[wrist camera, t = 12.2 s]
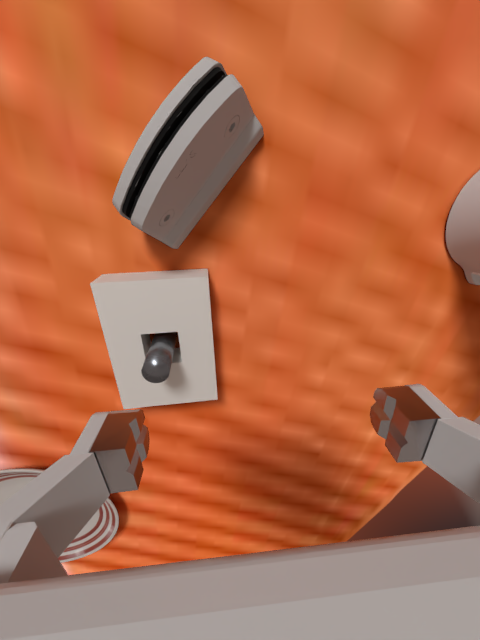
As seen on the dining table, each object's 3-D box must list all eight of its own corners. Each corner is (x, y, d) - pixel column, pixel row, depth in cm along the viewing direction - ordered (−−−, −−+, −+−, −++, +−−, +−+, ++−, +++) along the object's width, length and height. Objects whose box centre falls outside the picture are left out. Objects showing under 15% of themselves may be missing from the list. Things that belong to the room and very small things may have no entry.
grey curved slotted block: (175, 251, 33) (132, 245, 24) (146, 226, 33) (91, 209, 23) (266, 131, 29) (259, 64, 20) (233, 101, 29) (210, 19, 19)
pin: (175, 324, 37) (167, 359, 29) (178, 343, 38) (171, 381, 30) (153, 325, 37) (139, 361, 29) (157, 344, 38) (143, 384, 30)
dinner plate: (135, 537, 56) (131, 557, 53) (-7, 557, 53) (-20, 579, 50) (105, 442, 45) (97, 460, 42) (-78, 462, 42) (-100, 482, 39)
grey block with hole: (207, 268, 35) (208, 276, 31) (216, 382, 42) (217, 399, 38) (102, 274, 33) (90, 283, 30) (130, 390, 41) (123, 409, 37)
